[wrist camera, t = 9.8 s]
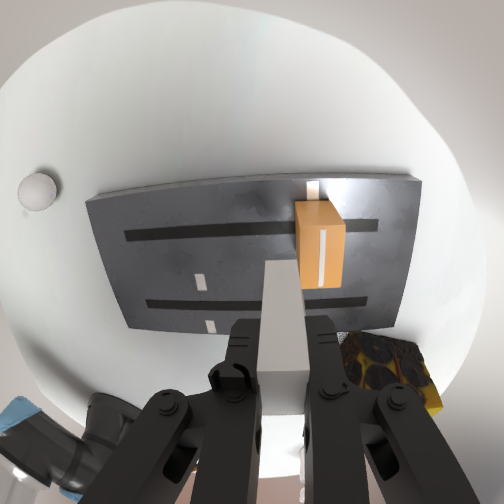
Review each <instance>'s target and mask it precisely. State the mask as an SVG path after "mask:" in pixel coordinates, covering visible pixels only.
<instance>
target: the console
mask: <svg viewBox="0 0 504 504" xmlns="http://www.w3.org/2000/svg"><path fill="white" fill-rule="evenodd" d="M421 186H422V181H421V180H419V179H417V178H415V177H413V176H411V175H396V174H372V173H295V174H270V175H252V176H238V177H225V178H214V179H204V180H194V181H185V182H177V183H169V184H161V185H154V186H147V187H140V188H134V189H128V190H122V191H116V192H110V193H105V194H99V195H96V196H94V197H93V198H91V199H89V200H87V201H85V203H86V207H87V211H88V215H89V219H90V222H91V226H92V230H93V233H94V236H95V240H96V243H97V246H98V249H99V252H100V255H101V258H102V261H103V264H104V267H105V270H106V273H107V276H108V278H109V281H110V284H111V286H112V289H113V292H114V294H115V297H116V299H117V302H118V304H119V306H120V309H121V311H122V314H123V316H124V318H125V321H126V323H127V325H128V327H129V328H133V329H142V330H153V331H165V332H180V333H197V334H224V335H230V332H231V327H232V326H233V325H234V323H235V322H236V321H237V320H238V319H248V318H261V313H262V301H263V288H264V274H265V261H266V260H293V259H296V227H295V201H331V202H332V203H333V205H334V206H335V208H336V210H337V211H338V213H339V214H340V216H341V218H342V219H343V221H344V223H345V224H346V230H345V246H344V258H343V270H342V280H341V287H338V288H317V289H303V295H304V304H305V314H306V316H317V315H328V317H329V318H330V319H331V320H332V321H333V322H334V324H335V329H336V332H348V331H360V330H370V329H380V328H389V327H394V324H395V321H396V318H397V314H398V311H399V307H400V304H401V300H402V296H403V292H404V288H405V284H406V280H407V276H408V271H409V267H410V262H411V257H412V252H413V246H414V241H415V235H416V228H417V221H418V214H419V206H420V197H421Z"/></svg>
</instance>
